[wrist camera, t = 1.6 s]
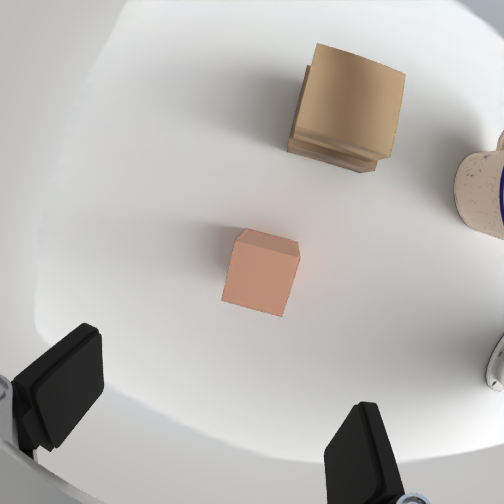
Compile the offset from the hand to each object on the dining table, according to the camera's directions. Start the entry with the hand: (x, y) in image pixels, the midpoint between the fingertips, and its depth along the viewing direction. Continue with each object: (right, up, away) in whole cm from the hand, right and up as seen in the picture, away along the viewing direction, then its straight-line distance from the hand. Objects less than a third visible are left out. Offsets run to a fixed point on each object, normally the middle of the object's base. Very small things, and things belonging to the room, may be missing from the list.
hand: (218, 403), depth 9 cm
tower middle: (+8, +16, +11) cm, 21 cm away
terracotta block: (+2, +4, +19) cm, 20 cm away
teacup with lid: (+26, +13, +14) cm, 33 cm away
